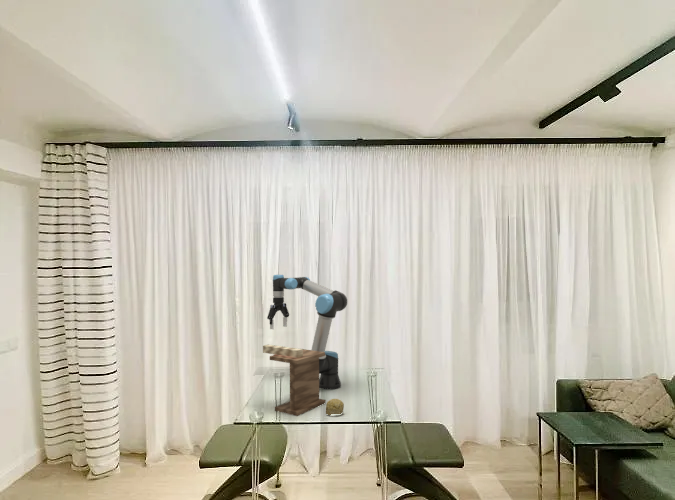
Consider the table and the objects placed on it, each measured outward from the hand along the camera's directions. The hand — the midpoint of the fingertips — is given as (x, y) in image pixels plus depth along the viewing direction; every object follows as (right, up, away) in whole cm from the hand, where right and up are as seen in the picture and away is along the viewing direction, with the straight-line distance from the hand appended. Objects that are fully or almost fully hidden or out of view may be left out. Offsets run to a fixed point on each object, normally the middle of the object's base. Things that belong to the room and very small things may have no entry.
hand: (278, 327), depth 327 cm
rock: (+39, -37, -67) cm, 85 cm away
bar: (+9, -6, -56) cm, 57 cm away
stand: (+18, -36, -54) cm, 67 cm away
